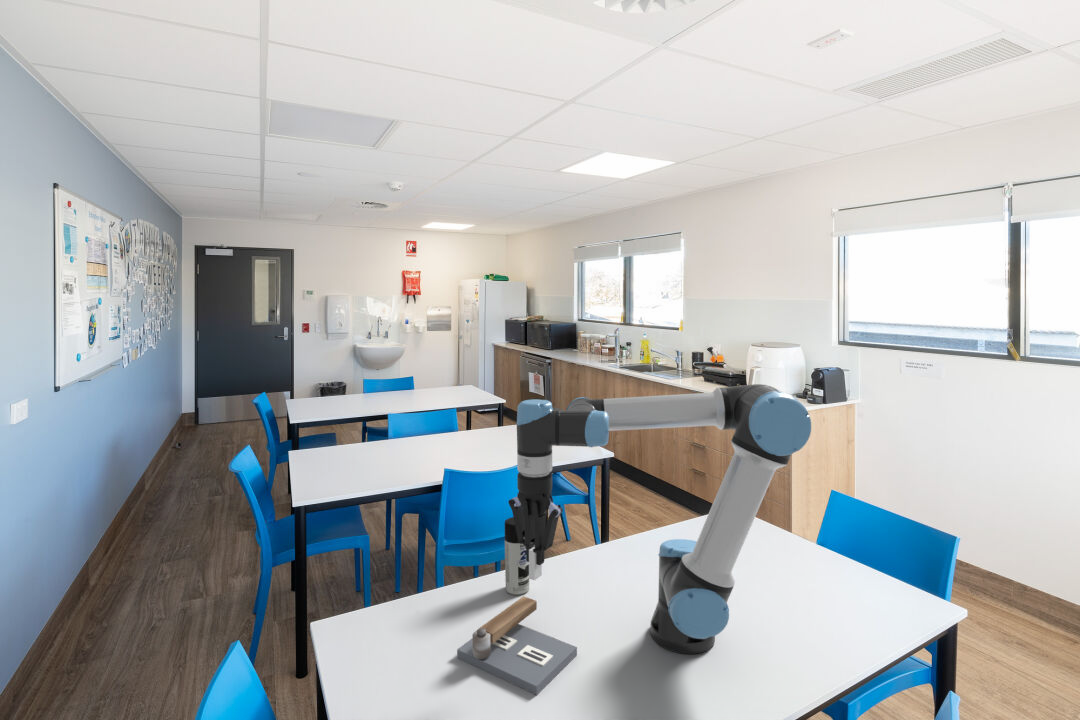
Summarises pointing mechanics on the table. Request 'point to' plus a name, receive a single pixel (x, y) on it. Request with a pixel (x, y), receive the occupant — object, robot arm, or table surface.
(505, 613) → the swing bar
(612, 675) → the table surface
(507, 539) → the spray can
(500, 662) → the label board
